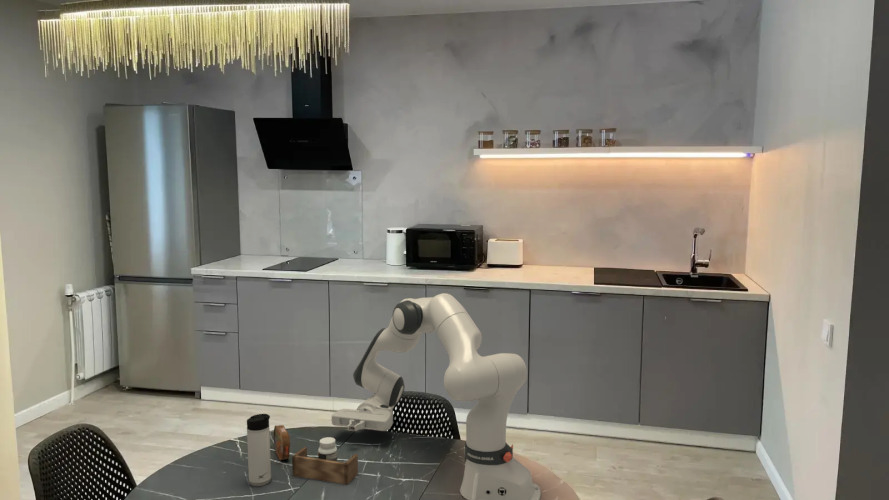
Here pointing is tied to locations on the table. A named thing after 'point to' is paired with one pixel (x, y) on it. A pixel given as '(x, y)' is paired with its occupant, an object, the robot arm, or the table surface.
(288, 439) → the tin
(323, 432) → the table surface
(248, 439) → the travel mug
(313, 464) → the box
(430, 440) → the table surface
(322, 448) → the pill bottle
